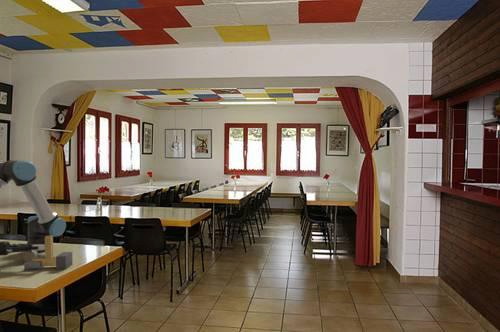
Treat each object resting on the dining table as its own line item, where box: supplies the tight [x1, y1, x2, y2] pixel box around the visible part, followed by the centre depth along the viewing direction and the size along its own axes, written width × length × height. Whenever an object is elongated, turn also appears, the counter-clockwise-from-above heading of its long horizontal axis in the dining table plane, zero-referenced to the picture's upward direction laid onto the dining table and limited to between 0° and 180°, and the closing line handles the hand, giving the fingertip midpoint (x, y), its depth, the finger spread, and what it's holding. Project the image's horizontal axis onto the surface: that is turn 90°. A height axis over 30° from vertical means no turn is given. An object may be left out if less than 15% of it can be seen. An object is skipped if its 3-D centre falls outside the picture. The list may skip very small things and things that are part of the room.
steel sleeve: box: [23, 259, 46, 271], centre depth 212 cm, size 7×8×4 cm
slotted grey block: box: [55, 251, 73, 271], centre depth 214 cm, size 10×5×7 cm, turn 6°
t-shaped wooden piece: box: [32, 235, 56, 267], centre depth 213 cm, size 4×14×16 cm, turn 96°
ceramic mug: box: [21, 250, 43, 263], centre depth 228 cm, size 11×8×8 cm
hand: (45, 247), depth 212 cm, fingers closed
